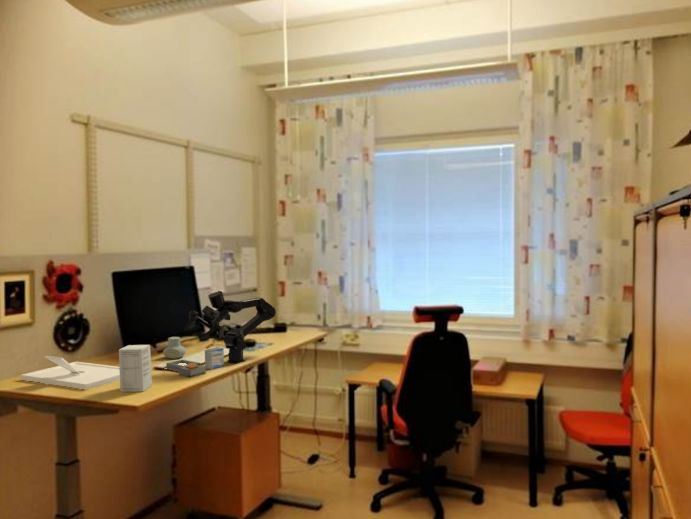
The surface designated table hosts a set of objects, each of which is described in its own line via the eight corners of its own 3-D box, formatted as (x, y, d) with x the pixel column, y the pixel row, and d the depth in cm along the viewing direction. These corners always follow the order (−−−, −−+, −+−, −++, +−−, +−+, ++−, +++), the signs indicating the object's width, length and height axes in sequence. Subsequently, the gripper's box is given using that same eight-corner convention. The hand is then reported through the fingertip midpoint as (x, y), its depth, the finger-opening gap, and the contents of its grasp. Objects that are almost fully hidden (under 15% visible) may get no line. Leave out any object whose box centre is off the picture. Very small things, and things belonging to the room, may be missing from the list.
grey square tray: (184, 363, 271) (184, 358, 271) (203, 367, 263) (203, 362, 263) (163, 368, 262) (162, 363, 262) (182, 372, 253) (181, 367, 253)
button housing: (194, 371, 256) (193, 364, 256) (205, 373, 251) (205, 366, 251) (179, 374, 250) (178, 367, 250) (190, 377, 245) (190, 370, 245)
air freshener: (161, 359, 281) (160, 339, 281) (165, 356, 290) (165, 336, 289) (183, 359, 282) (183, 339, 281) (187, 355, 290) (187, 336, 290)
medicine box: (212, 369, 258) (211, 350, 258) (204, 368, 261) (204, 349, 260) (224, 366, 265) (223, 347, 265) (217, 365, 267) (216, 346, 267)
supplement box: (152, 385, 232) (151, 344, 231) (143, 391, 223) (142, 349, 222) (129, 385, 232) (128, 344, 232) (119, 392, 223) (118, 349, 222)
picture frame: (86, 392, 227) (139, 376, 251) (85, 360, 226) (138, 347, 251) (20, 381, 244) (76, 368, 269) (19, 352, 244) (75, 341, 268)
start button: (193, 367, 253) (192, 362, 253) (198, 368, 251) (198, 363, 251) (186, 368, 250) (186, 364, 250) (191, 369, 248) (191, 365, 248)
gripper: (201, 294, 263) (175, 311, 252) (232, 311, 256) (207, 329, 245) (202, 313, 270) (177, 330, 258) (232, 330, 262) (208, 348, 251)
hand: (192, 334), depth 253 cm, fingers open, 9 cm apart
